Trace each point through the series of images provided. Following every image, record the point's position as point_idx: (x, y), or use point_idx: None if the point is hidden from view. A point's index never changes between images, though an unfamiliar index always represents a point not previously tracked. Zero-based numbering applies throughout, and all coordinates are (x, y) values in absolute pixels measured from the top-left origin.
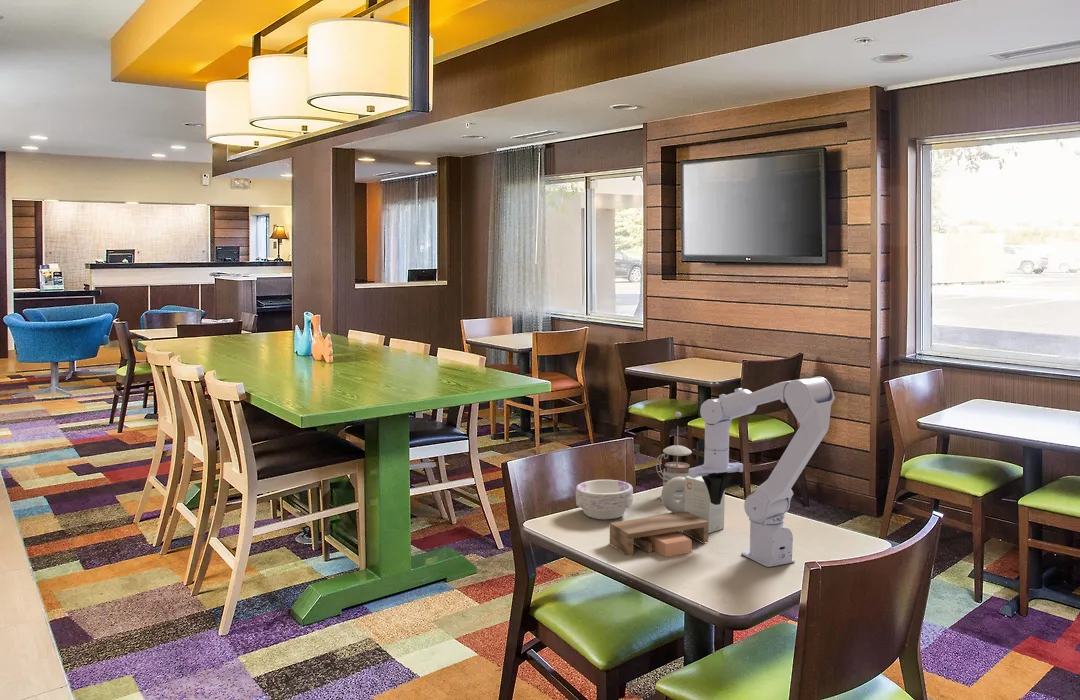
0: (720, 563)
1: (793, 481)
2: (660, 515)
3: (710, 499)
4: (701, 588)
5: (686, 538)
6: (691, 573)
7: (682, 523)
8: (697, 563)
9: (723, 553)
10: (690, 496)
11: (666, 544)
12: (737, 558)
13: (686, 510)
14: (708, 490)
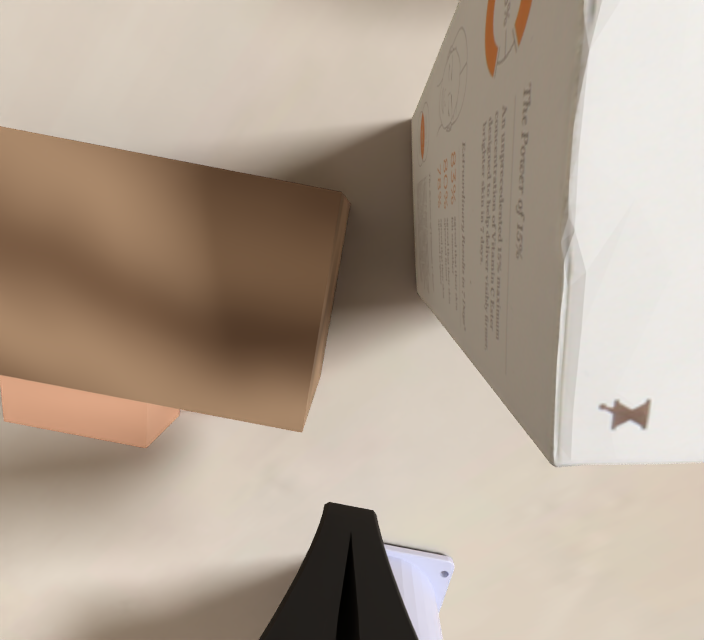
0: (202, 540)
1: None
2: (103, 149)
3: (318, 527)
4: (22, 619)
5: (135, 423)
6: (58, 541)
7: (140, 370)
8: (129, 499)
9: (282, 489)
10: (457, 98)
11: (10, 420)
12: (288, 544)
13: (427, 99)
14: (277, 617)
